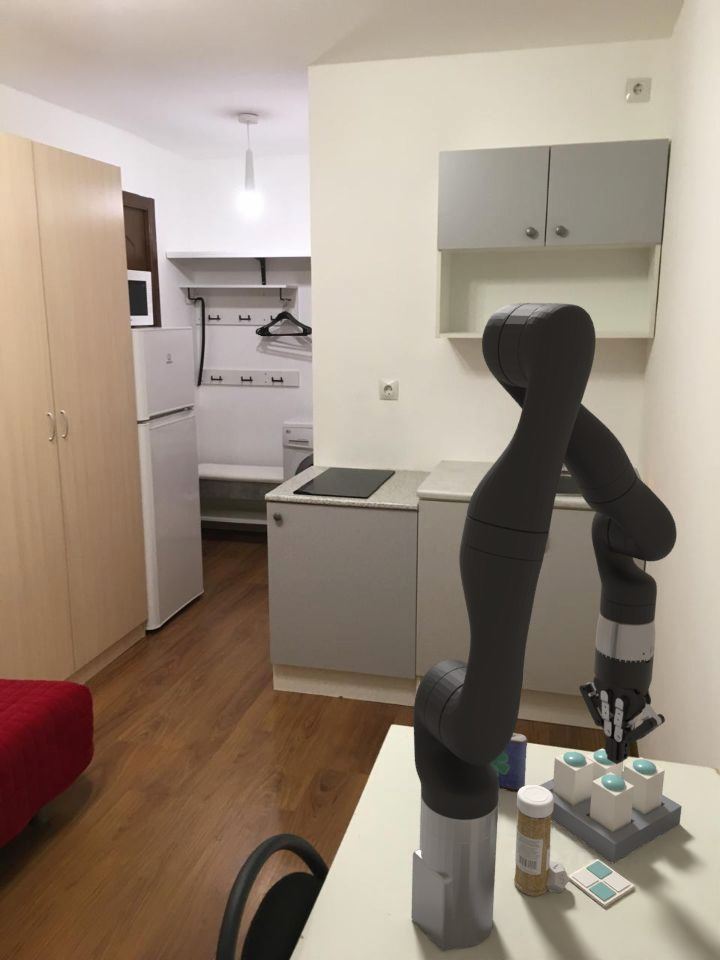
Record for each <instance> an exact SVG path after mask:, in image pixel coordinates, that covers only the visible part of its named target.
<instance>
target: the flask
mask: <svg viewBox="0 0 720 960" xmlns="http://www.w3.org/2000/svg"><path fill="white" fill-rule="evenodd" d="M527 746H528V739H527V737H526V735H524V734H522V733H516V732H514V733H513V736H512V738H511V740H510V742H509V744H508V746H507V747H506V749H505V750H504V751H503V753H502V754H501V755H500V756H499V757H498V758H497V759H496V760H494V761H492V762H491V764H492V766H493V768H494V769H495V771H496V773H497V776H498V780H499V790H505V791H508V792H511V793H512V792H516V793H518V791H519V789H520V788H522V787H524V786H526V771H527V770H526V769H527V768H526V764H527V762H526V761H527V748H528V747H527Z"/></svg>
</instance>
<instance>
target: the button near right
mask: <svg viewBox="0 0 720 960" xmlns="http://www.w3.org/2000/svg"><path fill="white" fill-rule="evenodd" d="M633 792H634V786H633V785H631V784H630V783H628V782H626V781H625V780H623V779H622V778H621V777H619V776H616V775H615V774H613V773H611V772H610V773H608V774H606V775H604V776H602V777H600V778H598V779H596V780H594V781H592V792H591V805H590V818H591V819H592V820H594V821H595V822H597V823H598V824H600V825H601V826H603V827H604V828H606V829H607V830H609V831H610V832H612V833H615V832H617V831H618V830H620V829H622V828H624V827H625V826H627V825H629V824H631V814H632V803H633Z"/></svg>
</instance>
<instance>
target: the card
mask: <svg viewBox="0 0 720 960" xmlns="http://www.w3.org/2000/svg"><path fill="white" fill-rule="evenodd" d="M568 877H569V882H571V883H572V884H573V885H575V886H576V887H578V889H580V890H581V891H583V892H584V893H585V894H586V895H588V897H590V898H591V899H593V900H594V901H595V902H596V903H598V904H599V905H601V906H602V907H603V908H606V907H608V906H609V905H610V904H612V903H614V902H615V901H616V900H618V899H620V898H621V897H623V896H625V895H627V894H628V893H629V892H631V891H632V890H634V889H635V884H633V883H632V882H630V881H629V880H628V879H626V878H625V877H623V876H622V875H621V874H619V873H618V872H616V871H615V870H613V869H612V868H611V867H610V866H608V865H607V864H605V863H604V862H603V861H601V860H600V859H598V858H597V859H595V860H592V861H591V862H590V863H588V864H586V865H584V866H582V867H581V868H579V869H578V870H576V871H574V872H572V873H570V874H569V875H568Z"/></svg>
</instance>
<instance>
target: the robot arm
mask: <svg viewBox="0 0 720 960" xmlns="http://www.w3.org/2000/svg"><path fill="white" fill-rule="evenodd" d="M596 340H597V339H596V329H595V325H594V321H593V319H592V317H591V315H590V313H589V312H587V310H586V309H585V308H583V307H582V306H580V305H577V304H571V303H561V302H559V303H555V302H554V303H551V302H550V303H549V302H546V303H544V302H543V303H542V302H522V303H521V302H520V303H512V304H508V305H504V306H502V307H500V308H498V309H497V310H496V311H495V312H494V313H493V314H492V315H491V316H490V317H489V319H488V320H487V322H486V324H485V327H484V329H483V333H482V339H481V352H482V355H483V359H484V363H485V364H486V367H487V369H488V370H489V372H490V373H491V375H492V376H493V378H495V379H496V381H497V382H498V383H499V384H500V385H501V387H502V388H503V389H504V390H505V391H506V393H508V395H510V397H511V399H512V400H514V401H515V402H516V404H517V405H518V406H519V407H520V408H521V412H520V416H519V420H518V423H517V425H516V428H515V431H514V434H513V435H512V438H511V440H510V441H509V443H508V445H507V446H506V448H505V449H504V450H503V451H502V453H501V454H500V456H499V457H498V458H497V459H496V460H495V462H494V463H493V464H492V466H490V468H489V469H488V470H487V472H486V473H485V475H484V476H483V477H482V478H481V480H480V481H479V483H478V484H477V487H476V488H475V490H474V491H473V493H472V495H471V497H470V499H469V502H468V506H467V509H466V515H465V519H464V525H463V530H462V535H461V539H460V540H461V541H460V547H459V556H458V557H459V559H458V561H459V571H460V578H461V579H460V580H461V584H462V585H461V586H462V590H463V596H464V600H465V605H466V606H465V607H466V610H467V611H466V612H467V617H468V623H469V632H470V633H469V635H470V639H469V640H470V641H469V643H470V644H469V653H468V659H467V662H465V661H463V660H459V659H446V660H445V659H444V660H442V661H439V662H437V663H436V664H434V665H433V666H431V667H430V668H429V669H428V670H427V671H426V672H425V673H424V676H423V677H422V679H421V681H420V682H419V683H418V687H417V690H416V693H415V697H414V704H413V749H414V764H415V765H414V766H415V770H416V773H417V777H418V779H419V782H420V815H419V817H420V818H419V820H420V821H419V848H418V849H417V850H416V849H415V851H414V852H413V853H412V873H411V876H412V880H411V881H412V882H411V914H410V915H411V919H412V921H413V922H414V923H415V924H416V925H418V927H419V928H420V929H421V930H422V931H423V932H424V934H426V935H427V937H429V939H430V940H431V941H432V942H433V943H434V944H435V945H436V946H437V947H438V948H439V949H440V950H441V951H445V950H447V949H449V948H463V949H464V948H468V947H473V946H475V945H478V944H480V943H482V942H484V940H485V939H487V938H488V937H489V935H490V933H491V931H492V928H493V921H494V906H495V905H494V901H495V880H496V879H495V878H496V864H497V863H496V860H497V859H496V857H497V838H498V818H499V799H500V788H499V780H498V776H497V773H496V771H495V769H494V768H493V766H492V764H491V762H492V761H494V760H496V759H497V758H498V757H499V756H500V755H501V754H502V753H503V751H504V750H505V749H506V747H507V746H508V744H509V742H510V740H511V738H512V736H513V733H515V730H516V727H517V722H518V718H519V711H520V706H521V705H520V704H521V697H522V686H523V676H524V667H525V658H526V657H525V656H526V647H527V641H528V636H529V635H528V634H529V629H530V625H531V624H530V623H531V619H532V612H533V607H534V602H535V598H536V592H537V586H538V581H539V578H540V573H541V571H542V570H541V569H542V566H543V562H544V557H545V552H546V547H547V544H548V538H549V534H550V529H551V524H552V523H551V521H552V517H553V516H552V515H553V510H554V505H555V501H556V497H557V491H558V488H559V484H560V478H561V474H562V470H563V467H564V466H565V468H566V470H567V472H568V473H569V475H570V477H571V478H572V480H573V482H574V484H575V485H576V487H577V489H578V490H579V493H580V494H581V496H582V498H583V499H584V501H585V503H586V504H587V506H589V507H590V509H592V511H594V512H595V513H594V516H593V519H592V520H591V521H592V522H591V528H590V529H591V531H590V533H591V541H592V548H593V550H594V551H593V552H594V556H595V561H596V565H597V572H598V574H599V580H600V583H601V589H600V598H599V599H600V600H599V601H600V603H599V615H598V618H597V619H598V621H597V624H596V632H595V633H596V634H595V646H594V647H595V649H594V664H593V665H594V666H593V672H594V677H593V680H591V681H588V682H586V683H584V684H581V685H580V686H579V687H578V688H579V691H580V693H581V696H582V699H583V701H584V702H585V705H586V707H587V709H588V712H589V713H590V715H591V718H592V720H593V722H594V724H595V726H597V727H601V728H602V729H603V732H604V734H605V748H604V750H605V752H606V754H607V759H608V760H610V761H612V762H613V763H615V764H619V763H621V762H623V763H624V761H625V760H628V758H629V753H630V752H629V750H630V744H633V743H635V742H636V741H638V740H641V739H643V738H645V737H646V736H647V735H649V734H650V733H651V732H653V731H654V730H656V729H657V728H658V727H659V726H661V725H662V724H664V723H665V722H666V717H665V716H664V715H663V714H661V713H658V714H657V713H656V712H655V710H654V709H653V707H652V706H651V703H652V697H651V694H650V691H649V690H650V686H651V683H652V679H653V668H654V660H655V659H654V656H655V644H656V623H655V619H656V607H657V605H656V604H657V598H658V597H657V594H658V585H657V582H656V579H655V578H654V577H653V576H652V575H651V574H650V573H648V572H646V571H645V570H643V569H642V568H641V567H639V566H638V565H637V564H636V562H635V561H634V559H637V560H640V561H644V562H657V561H661V560H663V559H664V558H665V559H666V557H667V556H668V555H669V554H670V553H671V552H672V551H673V549H674V548H675V545H676V542H677V541H676V540H677V526H676V521H675V520H674V519H675V518H674V517H673V514H672V513H671V511H670V510H669V508H668V507H667V505H665V503H664V502H663V501H662V500H661V498H660V497H658V495H656V493H655V492H654V491H653V490H652V489H651V488H650V487H649V486H648V485H647V484H646V483H645V482H644V481H642V480H641V478H639V476H638V474H637V472H636V470H635V467H634V466H633V464H632V462H631V460H630V457H629V456H628V454H627V452H626V450H625V448H624V446H623V444H622V443H621V442H620V440H619V439H618V438H617V437H616V435H615V434H614V433H613V432H612V431H611V430H610V428H608V426H607V425H606V424H605V423H603V421H601V420H600V419H599V418H598V417H597V416H596V415H595V414H594V413H593V412H591V411H590V410H589V409H588V408H587V407H586V406H585V405H584V404H583V403H582V402H583V398H584V395H585V392H586V390H587V389H586V388H587V386H588V382H589V379H590V376H591V372H592V368H593V363H594V360H595V352H596V345H597V344H596ZM563 465H564V466H563ZM599 711H600V712H599ZM641 714H642V715H641ZM639 715H641V716H640V717H641V718H640V720H639V722H640V724H639V725H637V727H635V724H636V722H637V721H638V716H639ZM634 727H635V728H634Z"/></svg>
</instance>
